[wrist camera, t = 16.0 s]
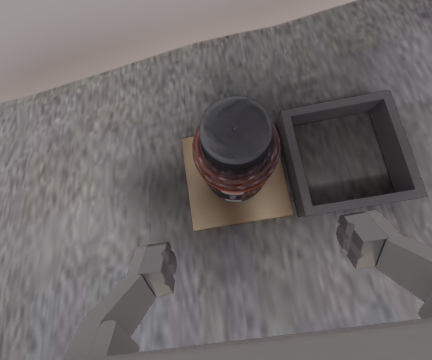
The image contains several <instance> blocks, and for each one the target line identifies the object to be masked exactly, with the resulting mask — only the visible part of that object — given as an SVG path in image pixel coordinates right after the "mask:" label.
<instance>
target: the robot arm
mask: <svg viewBox="0 0 432 360" xmlns="http://www.w3.org/2000/svg"><path fill="white" fill-rule="evenodd" d="M338 222H339V223H340V226H338V227H337V231H336V235H337V239H338V242H339V244H340V245H341V247H342V248H343V249H345V250H346V251H348V255H347V257H348V258H349V260H350V261H351V263H352V264H353V266H354V267H355V269H361V268H370V267H376V268H377V269H378V270H380V271H381V272H382V273H384V274H385V275H387V276H388V277H390V278H391V279H392V280H394V281H395V282H397V283H398V284H399V285H401V286H402V287H404V288H405V289H407V290H408V291H409V292H411V293H412V294H414V295H415V296H417V297H418V298H419V299H421V300H422V301H424V304H423V305H422V307H421V308H420V309H419V312H418V315H419V316H420V317H421V319H417V320H409V321H400V322H391V323H383V324H374V325H366V326H357V327H349V328H340V329H332V330H323V331H315V332H306V333H298V334H289V335H280V336H272V337H263V338H255V339H246V340H238V341H229V342H221V343H212V344H204V345H195V346H187V347H178V348H170V349H161V350H153V351H144V352H138V351H139V346H138V344H137V343H136V342H135V341H134V340H133V339H132V338H131V336H132V334H133V332H134V331H135V329H136V328H137V326H138V325H139V323H140V322H141V320H142V318H143V317H144V315H145V314H146V312H147V311H148V309H149V308H150V306H151V305H152V303H153V301H154V300H155V298H156V297H157V296H163V295H169V294H173V291H174V283H175V280H174V277H173V275H174V274H175V272H176V267H177V263H176V256H175V254H174V252H172V251H171V245H170V243H169V242H164V243H157V244H149V245H142V246H138V247H137V248H136V250H135V253H134V256H133V259H132V262H131V265H130V268H129V271H128V274H127V277H123V278H122V279H121V280H120V282H119V283H118V284H117V285H116V286H115V287H114V288H113V289H112V290H111V291H110V292H109V293H108V294H107V295H106V296H105V297H104V298H103V299H102V301H101V302H100V303H99V304H98V305H97V306H96V307H95V308H94V309H93V310H92V311H91V312H90V313H89V314H88V315H87V316H86V317H85V318H84V320H83V321H82V322H81V323H80V324H79V327H78V329H77V331H76V333H75V336H74V338H73V340H72V342H71V345H70V347H69V349H68V351H67V354H66V356H65V358H64V360H432V247H430V246H428V245H425V244H423V243H421V242H419V241H416V240H414V239H412V238H410V237H408V236H406V237H403V236H402V235H401V234H400V233H399V232H398V231H397V230H396V229H395V228H394V227H393V226H392V225H391V224H390V223H389V222H388V221H387V220H386V219H385V217H384V216H383V215H382V214H381V213H380V212H379V211H377V210H370V211H364V212H357V213H351V214H345V215H340V217H339V220H338Z"/></svg>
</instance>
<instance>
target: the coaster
mask: <svg viewBox="0 0 432 360" xmlns="http://www.w3.org/2000/svg"><path fill="white" fill-rule="evenodd" d="M193 137H194V136H193ZM193 137H187V138H182V139H181V141H182V148H183V156H184V163H185V171H186V178H187V186H188V193H189V200H190V208H191V215H192V223H193V230H194V231H195V230H202V229H208V228H214V227H220V226H226V225H233V224H239V223H245V222H251V221H257V220H264V219H270V218H276V217H282V216H289V215H293V211H292V207H291V203H290V198H289V194H288V189H287V185H286V181H285V176H284V172H283V167H282V163H281V159H280V157H279V160H278V164H277V166H276V168H275V170H274V171H273V173H272V175H271V176H270V177H269V179H268V180H267V182H266V183H265V184H264V185H263V187H262V188H261V190H260V191H259V192H258V193H257V194H256V195H254V196H253V197H251V198H250V199H248V200H245V201H241V202H230V201H226V200H224V199H221V198H220V197H218V196H217V195H216V194H215V193H214V192H213V191H212V190H211V189H210V187H209V186H208V185H207V183H206V182H205V180H204V179H203V178H202V176H201V175H200V173H199V172H198V170H197V168H196V166H195V163H194V160H193V155H192V142H193Z"/></svg>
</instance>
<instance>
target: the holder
mask: <svg viewBox="0 0 432 360" xmlns="http://www.w3.org/2000/svg"><path fill="white" fill-rule="evenodd" d="M368 111H369V114H370V117H371V120H372V123H373V126H374V129H375V132H376V135H377V138H378V141H379V144H380V147H381V151H382V154H383V157H384V160H385V163H386V166H387V169H388V172H389V175H390V178H391V181H392V184H393V187H394V190H395V193H390V194H384V195H378V196H372V197H366V198H359V199H353V200H347V201H341V202H335V203H329V204H323V205H316V206H313V205H312V201H311V197H310V193H309V189H308V185H307V181H306V177H305V173H304V169H303V165H302V161H301V157H300V153H299V149H298V145H297V141H296V137H295V133H294V129H293V125H299V124H304V123H309V122H315V121H320V120H325V119H331V118H336V117H341V116H347V115H352V114H357V113H363V112H368ZM276 122H277V127H278V131H279V135H280V140H281V144H282V148H283V153H284V157H285V161H286V166H287V170H288V174H289V179H290V183H291V187H292V192H293V196H294V200H295V205H296V209H297V213H298V217H303V216H311V215H317V214H323V213H330V212H336V211H342V210H348V209H355V208H361V207H367V206H373V205H380V204H386V203H392V202H398V201H405V200H411V199H417V198H423V197H428V195H427V192H426V190H425V187H424V184H423V181H422V178H421V176H420V173H419V170H418V167H417V164H416V162H415V159H414V156H413V153H412V150H411V148H410V145H409V142H408V139H407V136H406V133H405V131H404V128H403V125H402V122H401V119H400V117H399V114H398V111H397V108H396V105H395V103H394V100H393V97H392V94H391V91H390V90H386V91H380V92H375V93H370V94H365V95H360V96H354V97H349V98H344V99H339V100H334V101H328V102H323V103H318V104H313V105H308V106H302V107H297V108H292V109H287V110H282V111H280V114H279V116H278V119H277V121H276Z"/></svg>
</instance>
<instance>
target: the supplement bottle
mask: <svg viewBox="0 0 432 360" xmlns="http://www.w3.org/2000/svg"><path fill="white" fill-rule="evenodd" d="M280 151H281V145H280V139H279V136H278V133H277V130H276V128H275V127H274V125H273V123H272V121H271V118H270V116H269V114H268V112H267V110H266V109H265V108H264V107H263V106H262V105H260V104H259V103H258V102H256V101H255V100H253V99H250V98H247V97H243V96H231V97H225V98H223V99H221V100H218V101H217V102H215V103H213V104H212V105H211V106H210V107H209V108H208V109H207V110H206V111H205V113H204V115H203V117H202V119H201V122H200V125H199V126H198V128H197V130H196V132H195V134H194V137H193V142H192V155H193V160H194V163H195V166H196V168H197V170H198V172H199V173H200V175H201V176H202V178H203V179H204V180H205V182H206V183H207V185H208V186H209V187H210V189H211V190H212V191H213V192H214V193H215V194H216V195H217V196H218V197H220V198H221V199H224V200H226V201H230V202H241V201H245V200H248V199H250V198H251V197H253V196H254V195H256V194H257V193H258V192H259V191H260V190H261V188H262V187H263V185H264V184H265V183H266V182H267V180H268V179H269V177H270V176H271V175H272V173H273V171H274V170H275V168H276V166H277V164H278V160H279V157H280Z"/></svg>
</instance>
